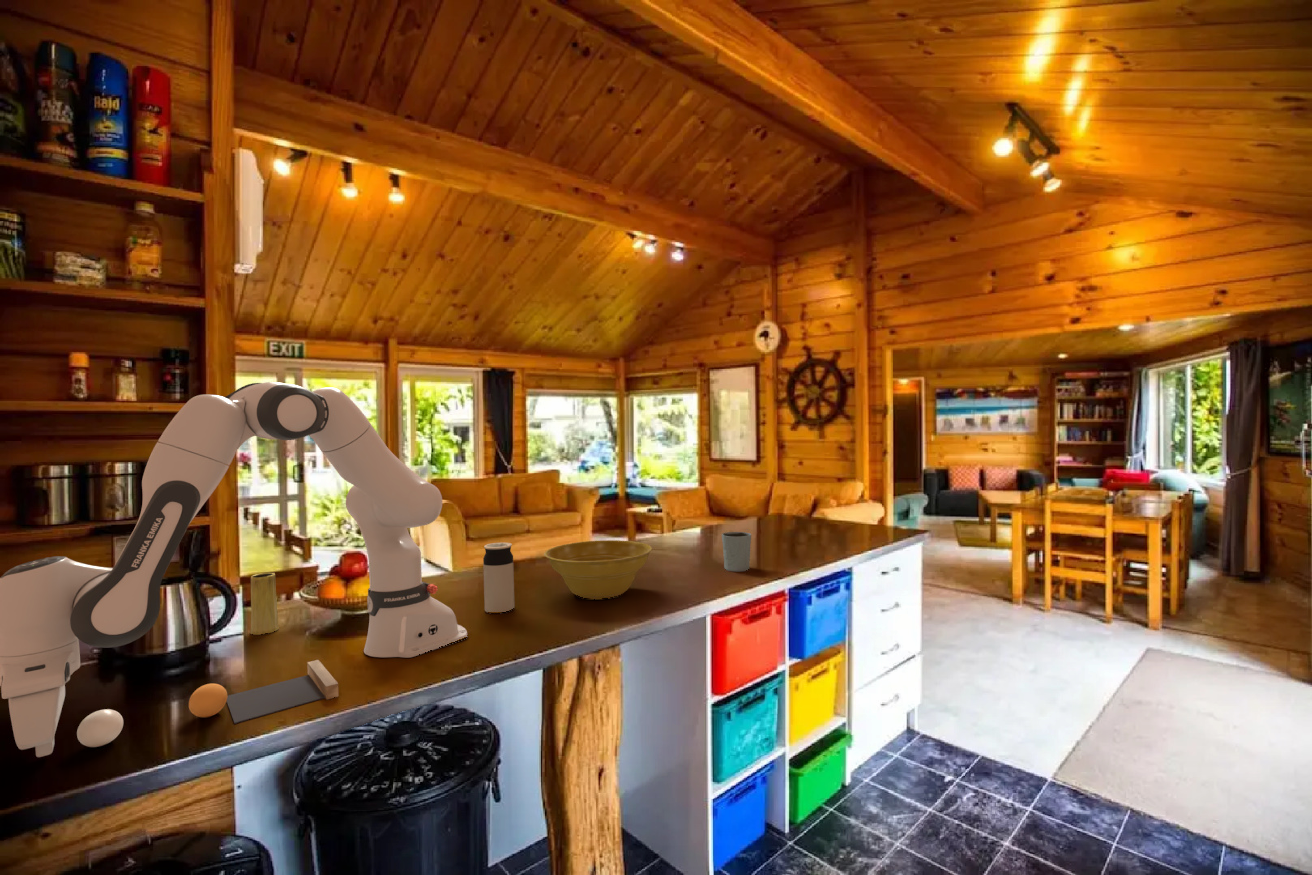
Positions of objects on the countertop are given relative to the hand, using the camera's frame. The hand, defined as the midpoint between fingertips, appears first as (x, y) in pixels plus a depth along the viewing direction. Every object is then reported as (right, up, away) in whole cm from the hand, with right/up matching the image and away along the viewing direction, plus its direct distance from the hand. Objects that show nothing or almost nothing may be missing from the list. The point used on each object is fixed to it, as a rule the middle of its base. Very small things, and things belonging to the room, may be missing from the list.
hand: (45, 752), depth 92 cm
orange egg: (+15, +2, +13) cm, 20 cm away
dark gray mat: (+23, 0, +20) cm, 30 cm away
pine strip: (+29, 0, +25) cm, 38 cm away
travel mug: (+52, +1, +72) cm, 88 cm away
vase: (-4, 0, +58) cm, 59 cm away
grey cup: (+123, +3, +113) cm, 167 cm away
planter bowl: (+78, +2, +86) cm, 116 cm away
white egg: (+5, +2, +4) cm, 7 cm away
